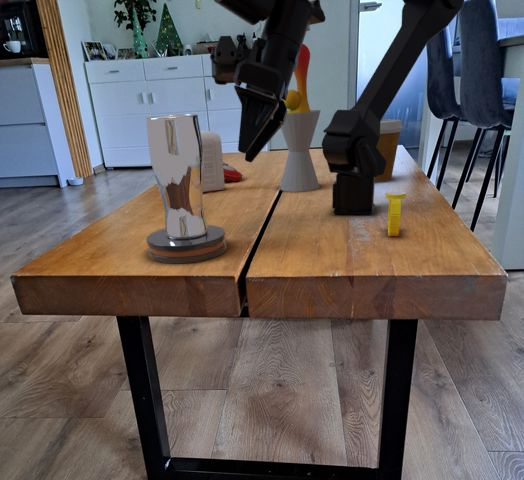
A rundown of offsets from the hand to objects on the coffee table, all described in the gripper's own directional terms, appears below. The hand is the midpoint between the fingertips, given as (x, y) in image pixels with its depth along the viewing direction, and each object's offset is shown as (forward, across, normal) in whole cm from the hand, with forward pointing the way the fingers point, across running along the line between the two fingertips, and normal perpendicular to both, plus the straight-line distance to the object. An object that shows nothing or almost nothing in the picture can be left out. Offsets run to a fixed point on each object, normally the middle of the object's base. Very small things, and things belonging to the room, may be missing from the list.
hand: (244, 157), depth 71 cm
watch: (+3, 0, +24) cm, 25 cm away
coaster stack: (+15, +5, -3) cm, 16 cm away
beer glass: (+13, +6, -4) cm, 15 cm away
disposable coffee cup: (-9, -42, +24) cm, 49 cm away
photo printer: (+6, -37, -12) cm, 40 cm away
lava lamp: (-1, -37, +8) cm, 38 cm away
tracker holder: (+2, -51, -10) cm, 52 cm away
